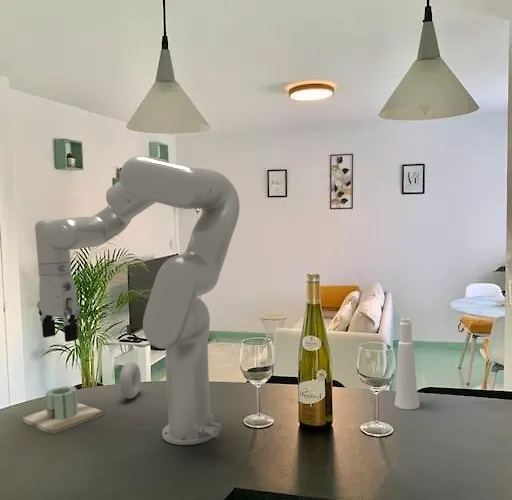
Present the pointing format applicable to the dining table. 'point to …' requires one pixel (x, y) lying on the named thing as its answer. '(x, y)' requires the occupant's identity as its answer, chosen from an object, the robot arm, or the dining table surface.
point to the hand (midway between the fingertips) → (60, 338)
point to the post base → (57, 426)
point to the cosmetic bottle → (406, 370)
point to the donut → (130, 380)
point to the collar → (62, 402)
